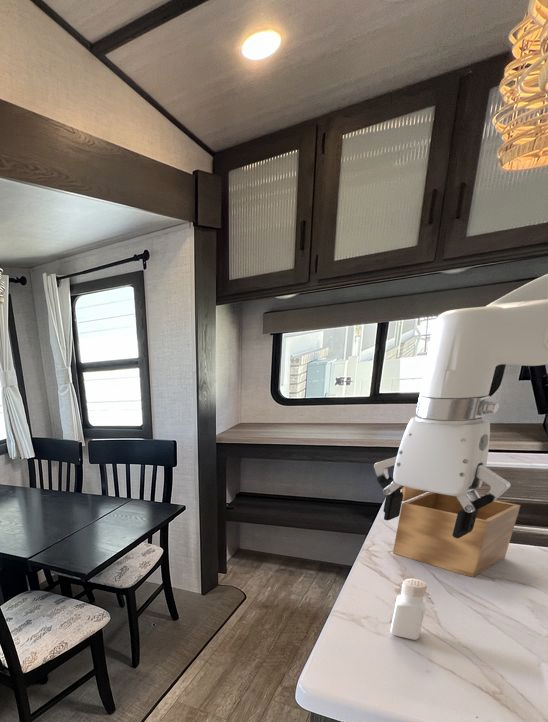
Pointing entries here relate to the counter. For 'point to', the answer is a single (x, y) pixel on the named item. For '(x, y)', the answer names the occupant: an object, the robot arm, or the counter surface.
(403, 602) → the pepper shaker
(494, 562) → the chest
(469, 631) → the counter surface
